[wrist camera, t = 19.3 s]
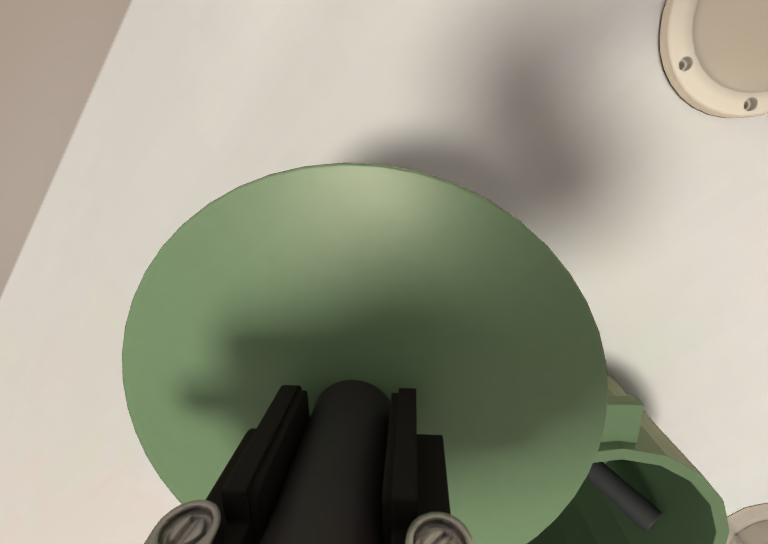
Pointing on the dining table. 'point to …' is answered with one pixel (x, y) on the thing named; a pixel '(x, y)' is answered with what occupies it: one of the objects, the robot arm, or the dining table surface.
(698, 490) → the chamber
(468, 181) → the dining table surface
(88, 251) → the dining table surface
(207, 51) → the dining table surface
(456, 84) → the dining table surface
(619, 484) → the blade
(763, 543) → the french press
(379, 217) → the lid
